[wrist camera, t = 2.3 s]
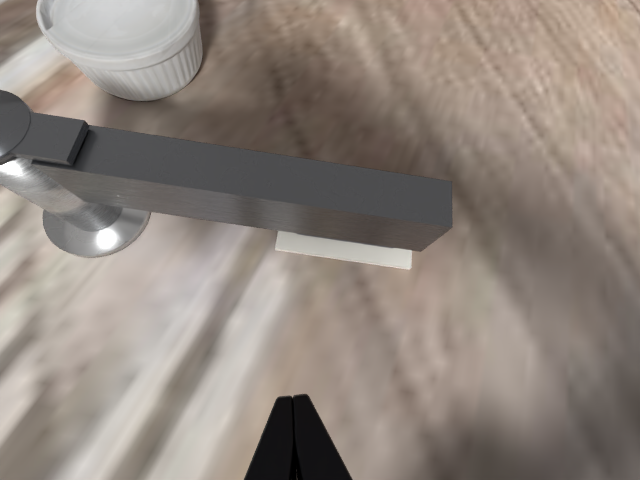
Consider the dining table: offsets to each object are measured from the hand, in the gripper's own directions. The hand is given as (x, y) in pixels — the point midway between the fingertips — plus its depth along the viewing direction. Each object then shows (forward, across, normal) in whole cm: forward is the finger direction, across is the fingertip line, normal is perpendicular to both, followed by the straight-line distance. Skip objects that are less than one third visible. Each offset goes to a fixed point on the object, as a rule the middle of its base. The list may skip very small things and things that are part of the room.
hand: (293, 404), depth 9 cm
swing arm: (+13, +4, -2) cm, 13 cm away
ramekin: (+28, +11, -9) cm, 32 cm away
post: (+18, +13, 0) cm, 22 cm away
